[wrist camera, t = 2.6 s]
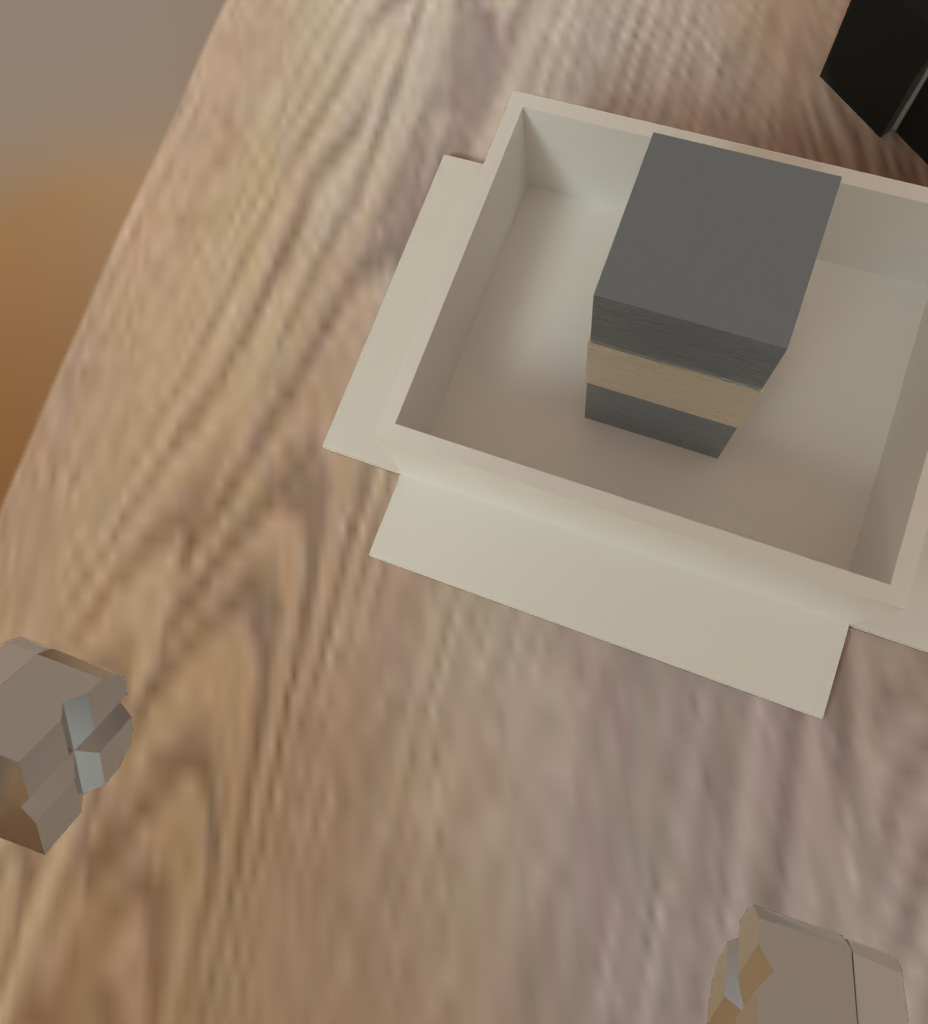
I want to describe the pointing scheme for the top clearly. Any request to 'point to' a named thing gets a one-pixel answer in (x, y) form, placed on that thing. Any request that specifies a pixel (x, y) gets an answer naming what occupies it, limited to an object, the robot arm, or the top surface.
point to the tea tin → (701, 290)
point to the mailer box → (636, 458)
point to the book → (884, 67)
